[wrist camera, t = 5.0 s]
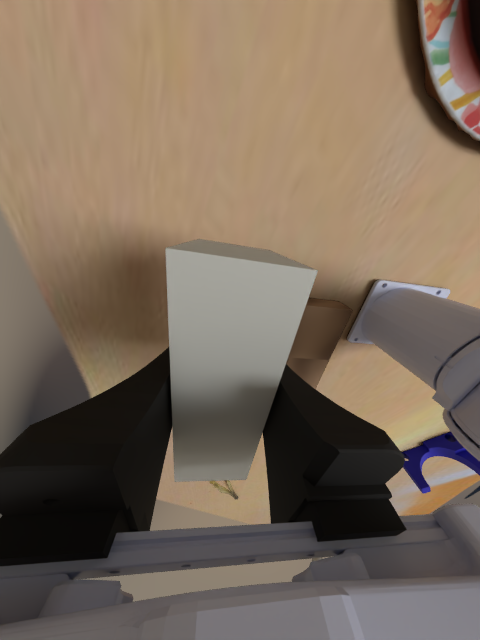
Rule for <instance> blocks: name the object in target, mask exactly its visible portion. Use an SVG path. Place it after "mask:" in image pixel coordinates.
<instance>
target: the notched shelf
mask: <svg viewBox="0 0 480 640" xmlns="http://www.w3.org/2000/svg"><path fill="white" fill-rule="evenodd" d="M352 311H353V310H352V309H350V308H348V307H347V306H345V305H344V304H342V303H340V302H339V301H332V300H323V299H314V298H308V301H307V304H306V307H305V310H304V312H303V315H302V318H301V321H300V324H299V327H298V330H297V333H296V336H295V339H294V342H293V345H292V347H291V350H290V353H289V356H288V359H287V362H286V364H287V365H288V366H289V367H290V368H291V369H292V370H293V371H294V372H295V373H296V374H297V375H298V376H299V377H301V378H302V379H303V380H304V381H305V382H307V383H308V384H309V385H310V386H312V387H313V388H314V389H316V387H317V385H318V383H319V381H320V378H321V376H322V374H323V372H324V370H325V368H326V366H327V364H328V362H329V359H330V357H331V355H332V353H333V351H334V349H335V347H336V345H337V343H338V340H339V338H340V336H341V334H342V332H343V330H344V328H345V326H346V324H347V321H348V319H349V317H350V315H351V313H352Z"/></svg>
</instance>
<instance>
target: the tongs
mask: <svg viewBox="0 0 480 640" xmlns="http://www.w3.org/2000/svg"><path fill="white" fill-rule="evenodd" d="M210 483H212V484H213V485H214V486H215V488H217V489H218V490H219V491H220V492H221V493H227V494H230V495H231V496H233V497H234V499H238V496H237V495H236V494H235V492H234V490H233V488H232V486H231V483H230V481H229V480H227V484H228V486H229V489H230V490H231V492H230V491H229V490H227V489H226V488H224V487H222V486H220V485H219V484H218V483H216V482H215V481H210ZM215 484H216V485H215Z"/></svg>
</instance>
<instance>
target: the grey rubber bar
mask: <svg viewBox="0 0 480 640" xmlns="http://www.w3.org/2000/svg"><path fill="white" fill-rule="evenodd" d="M317 272H318V270H316V269H313V268H311V267H308V266H306V265H304V264H301V263H299V262H296V261H294V260H292V259H289V258H287V257H284V256H282V255H280V254H277V253H275V252H273V251H270V250H266V249H260V248H253V247H247V246H241V245H234V244H228V243H222V242H215V241H209V240H203V239H197V240H193V241H189V242H186V243H182V244H178V245H175V246H171V247H167V248H166V274H167V300H168V325H169V351H170V376H171V402H172V427H173V453H174V478H175V482H181V481H221V480H246V479H247V476H248V473H249V470H250V467H251V464H252V461H253V458H254V455H255V453H256V450H257V447H258V444H259V441H260V438H261V435H262V432H263V429H264V426H265V423H266V420H267V418H268V415H269V412H270V409H271V406H272V403H273V400H274V397H275V394H276V391H277V388H278V385H279V382H280V380H281V377H282V374H283V371H284V368H285V365H286V362H287V359H288V356H289V353H290V350H291V347H292V345H293V342H294V339H295V336H296V333H297V330H298V327H299V324H300V321H301V318H302V315H303V312H304V310H305V307H306V304H307V301H308V298H309V295H310V292H311V289H312V286H313V283H314V280H315V277H316V275H317Z"/></svg>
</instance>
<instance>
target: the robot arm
mask: <svg viewBox="0 0 480 640" xmlns="http://www.w3.org/2000/svg"><path fill="white" fill-rule="evenodd" d="M383 284H384V285H383ZM382 285H383V286H382ZM449 294H450V290H449V289H446V288H439V287H432V286H424V285H417V284H410V283H402V282H395V281H387V280H377V281H376V282H375V283H374V285H373V287H372V289H371V291H370V293H369V295H368V297H367V299H366V301H365V303H364V305H363V307H362V309H361V311H360V313H359V315H358V317H357V319H356V321H355V323H354V325H353V327H352V329H351V331H350V333H349V335H348V337H347V340H348V341H349V342H354V343H367V344H375V345H376V346H378V347H379V348H380V349H382V350H383V351H384V352H386V353H387V354H388V355H389V356H391V357H392V358H393V359H395V360H396V361H397V362H399V363H400V364H401V365H403V366H404V367H405V368H407V369H408V370H409V371H410V372H412V373H413V374H414V375H416V376H417V377H418V378H420V379H421V380H422V381H424V382H425V383H426V384H428V385H429V386H430V387H432V388H433V389H434V390H435V391H436V393H435V395H434V396H433V397H432V398H433V399H434V400H435V401H436V402H437V403H439V404H440V405H441V406H442V407H444V408H445V409H444V411H443V419H444V421H445V424H446V425H447V427H448V428H449V430H450V431H451V432H452V434H453V435H454V437H455V438H456V439H457V440H458V442H459V443H460V444H461V445H462V446H463V447H464V448H465V449H466V450H467V451H468V452H469V453H470V454H471V455H473V456H474V457H475V458H476V459H477V460H479V461H480V309H478V308H475V307H472V306H469V305H465V304H462V303H459V302H456V301H453V300H449V299H446V298H447V296H448V295H449ZM171 429H172V402H171V376H170V351H169V347H168V348H167V349H166V350H165V351H164V352H163V353H162V354H160V355H159V356H158V357H157V358H156V359H154V360H153V361H152V362H150V363H149V364H148V365H147V366H145V367H144V368H143V369H141V370H140V371H138V372H137V373H135V374H134V375H132V376H131V377H129V378H128V379H126V380H124V381H122V382H121V383H119V384H117V385H115V386H114V387H112V388H110V389H108V390H107V391H105V392H103V393H101V394H99V395H97V396H95V397H93V398H91V399H89V400H87V401H85V402H83V403H81V404H79V405H76V406H75V407H72V408H70V409H68V410H65V411H63V412H61V413H58V414H56V415H54V416H51V417H49V418H46V419H44V420H42V421H40V422H37V423H35V424H32V425H30V426H29V427H28V428H27V429H26V430H25V431H24V432H23V433H22V434H21V435H19V436H18V437H17V438H16V440H14V442H12V443H11V444H10V445H9V446H8V447H7V448H6V449H5V450H4V451H3V452H2V453H1V454H0V513H1V514H2V517H1V518H0V640H480V508H479V507H478V506H477V505H475V504H473V503H471V504H470V503H469V504H452V505H446V506H443V507H441V508H439V509H437V510H435V511H434V512H433V514H426V515H410V516H398V514H397V512H396V511H395V509H394V507H393V506H392V504H391V502H390V501H389V499H390V498H391V497H392V494H391V492H390V491H389V489H388V488H387V486H386V484H385V483H386V482H387V481H389V480H390V479H391V478H392V477H393V476H394V475H395V474H397V473H398V472H399V471H400V470H401V468H402V467H403V465H404V462H405V459H404V455H403V454H402V453H401V451H400V450H399V449H398V448H397V446H396V445H395V444H394V442H393V441H392V440H391V439H390V437H389V436H388V435H387V434H386V432H385V431H384V430H382V429H380V428H378V427H376V426H374V425H372V424H370V423H369V422H367V421H365V420H363V419H361V418H359V417H357V416H356V415H354V414H352V413H350V412H349V411H347V410H345V409H344V408H342V407H340V406H339V405H337V404H336V403H334V402H333V401H331V400H330V399H328V398H327V397H325V396H324V395H322V394H321V393H320V392H318V391H317V390H316V389H314V388H313V387H312V386H310V385H309V384H308V383H307V382H305V381H304V380H303V379H302V378H301V377H299V376H298V375H297V374H296V373H295V372H294V371H293V370H292V369H291V368H290V367H289V366H288V365H287V364H286V365H285V368H284V371H283V374H282V377H281V380H280V382H279V385H278V388H277V391H276V394H275V397H274V400H273V403H272V406H271V409H270V412H269V415H268V418H267V420H266V423H265V426H264V429H263V438H264V447H265V456H266V466H267V477H268V489H269V502H270V516H271V524H258V525H242V526H227V527H226V526H225V527H208V528H192V529H175V530H158V531H150V525H151V520H152V516H153V510H154V506H155V501H156V496H157V492H158V487H159V482H160V478H161V473H162V468H163V464H164V459H165V455H166V451H167V446H168V442H169V438H170V433H171ZM331 556H333V557H331ZM320 557H329V558H325V559H321V560H317V561H312V562H311V563H310V566H309V568H307V569H306V570H305V571H303V572H302V573H300V574H298V575H296V576H294V577H293V579H292V582H282V583H271V584H257V585H248V586H240V587H239V586H238V587H229V588H221V589H213V590H205V591H198V592H190V593H184V594H178V595H171V596H165V597H159V598H153V599H147V600H141V601H135V602H133V596H132V594H129V593H126V592H124V591H122V590H121V589H120V588H121V584H120V581H107V580H76V579H87V578H98V577H109V576H120V575H131V574H142V573H153V572H165V571H176V570H186V569H198V568H209V567H220V566H231V565H242V564H253V563H264V562H274V561H286V560H297V559H309V558H320Z"/></svg>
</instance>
